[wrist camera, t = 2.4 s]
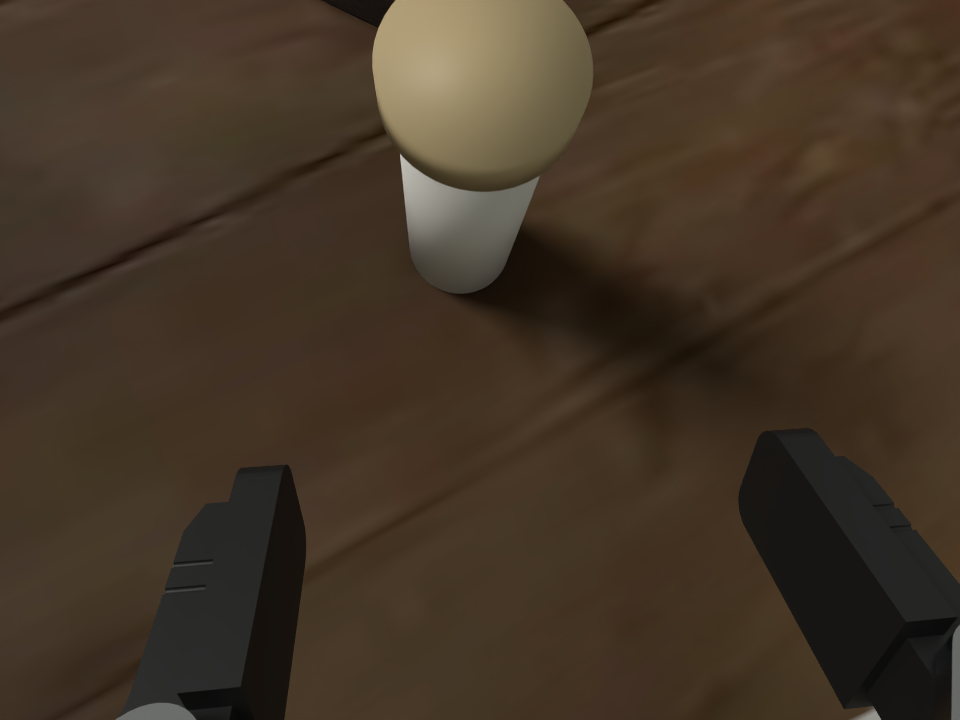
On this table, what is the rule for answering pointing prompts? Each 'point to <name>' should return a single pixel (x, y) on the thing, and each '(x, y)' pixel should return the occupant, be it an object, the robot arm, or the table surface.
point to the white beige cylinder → (476, 121)
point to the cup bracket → (365, 9)
